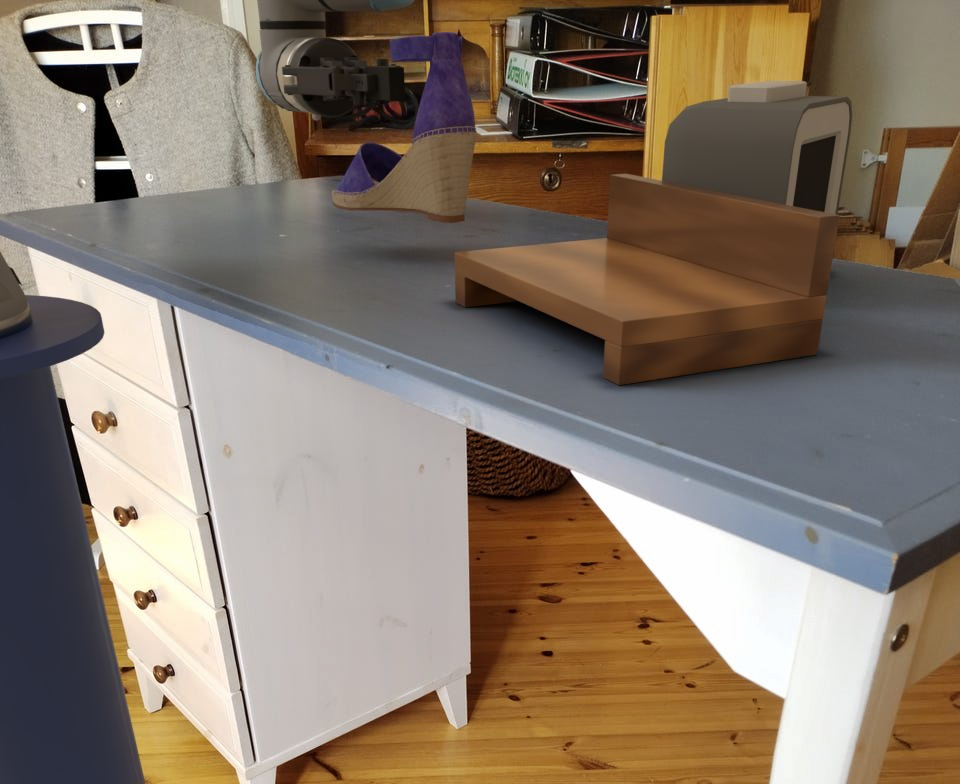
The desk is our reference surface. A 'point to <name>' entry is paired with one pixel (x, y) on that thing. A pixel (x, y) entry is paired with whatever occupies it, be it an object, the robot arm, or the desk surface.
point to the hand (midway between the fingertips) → (396, 84)
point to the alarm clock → (763, 145)
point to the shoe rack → (674, 280)
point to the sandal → (421, 143)
